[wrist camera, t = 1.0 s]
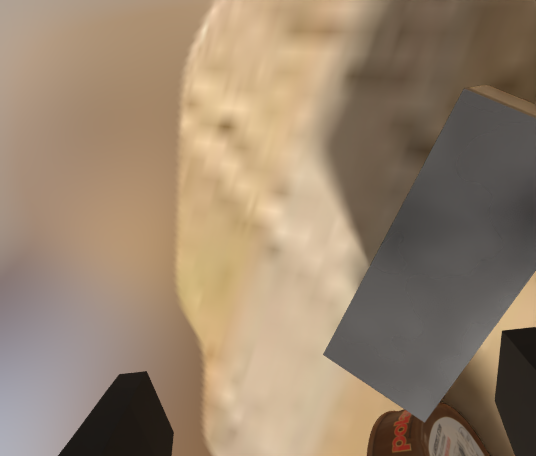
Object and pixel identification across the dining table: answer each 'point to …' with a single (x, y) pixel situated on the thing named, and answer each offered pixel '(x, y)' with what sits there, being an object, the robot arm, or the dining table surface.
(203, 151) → the dining table surface
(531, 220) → the block
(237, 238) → the dining table surface
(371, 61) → the dining table surface
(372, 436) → the tin
